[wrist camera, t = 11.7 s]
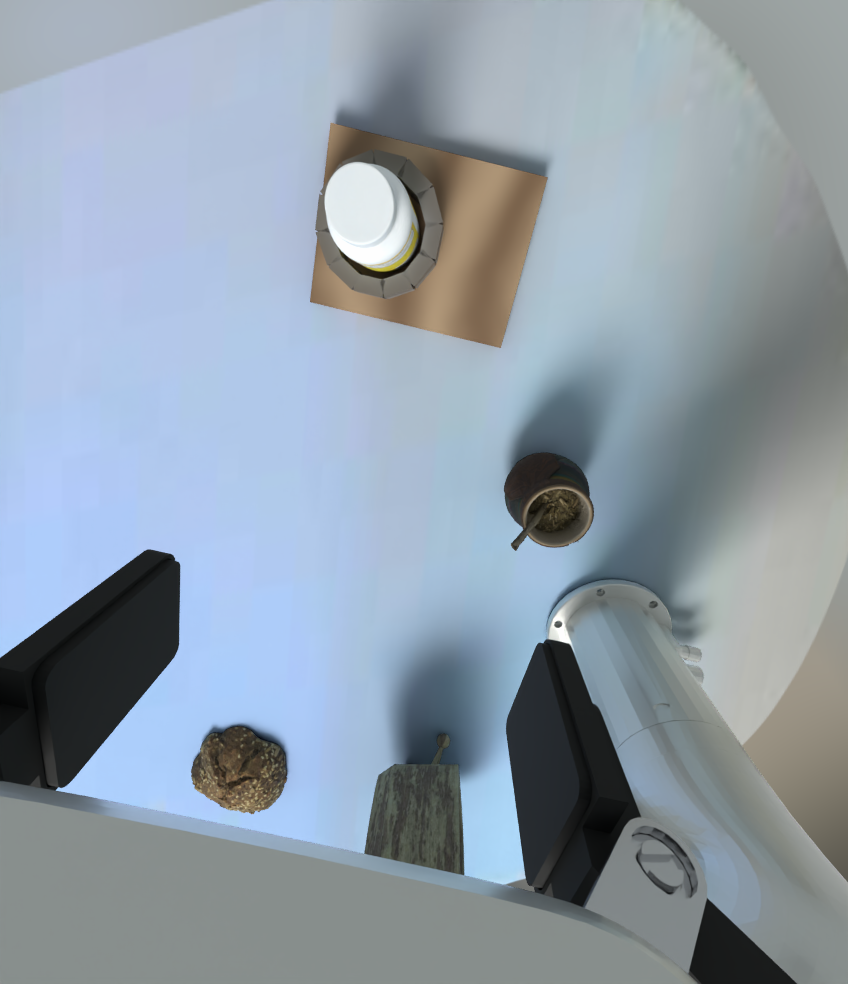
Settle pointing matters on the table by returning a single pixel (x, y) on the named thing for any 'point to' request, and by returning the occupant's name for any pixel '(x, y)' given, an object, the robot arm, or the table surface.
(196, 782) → the bread roll
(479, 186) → the collar board
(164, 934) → the robot arm
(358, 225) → the supplement bottle
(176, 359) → the table surface
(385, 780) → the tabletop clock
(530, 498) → the mate gourd
